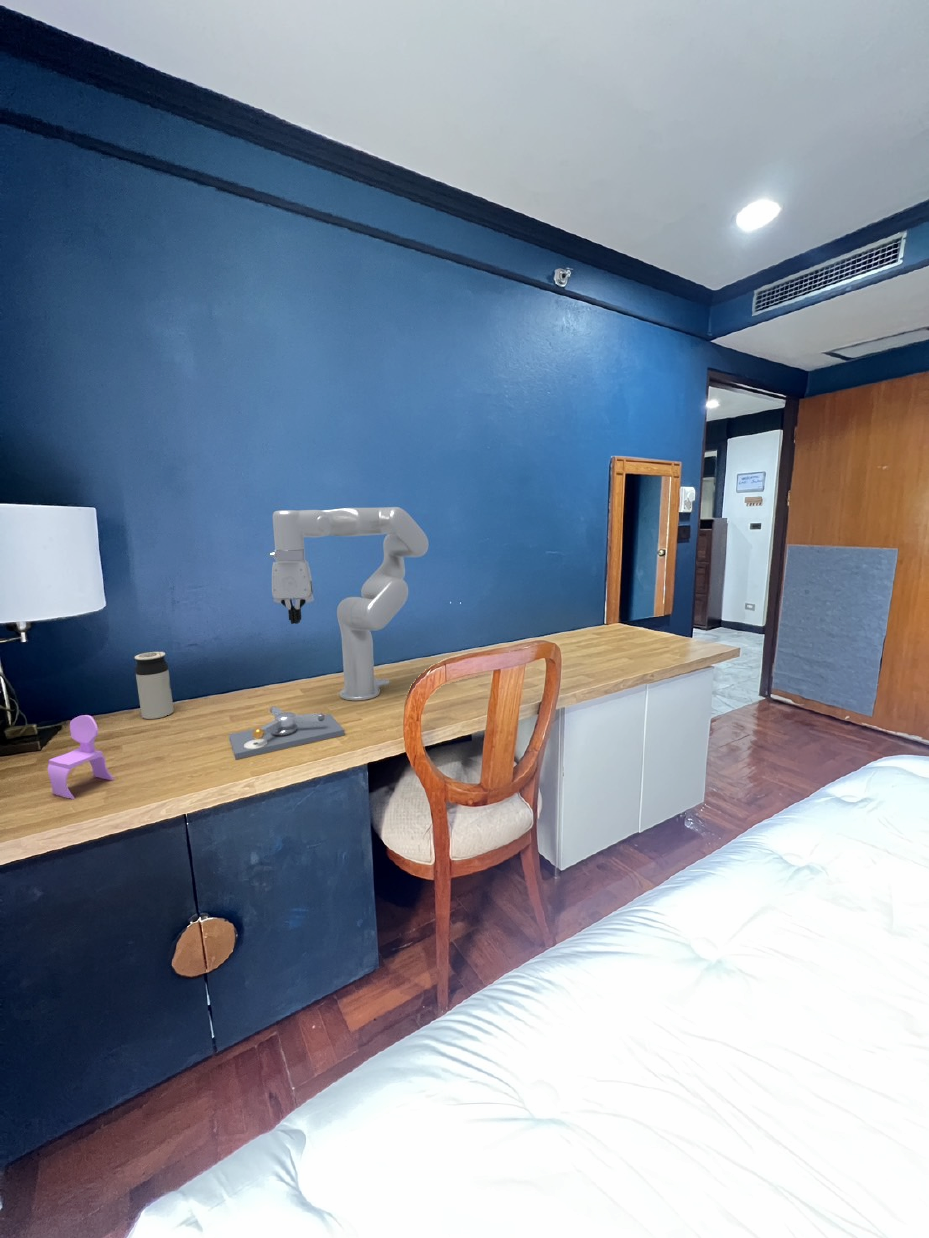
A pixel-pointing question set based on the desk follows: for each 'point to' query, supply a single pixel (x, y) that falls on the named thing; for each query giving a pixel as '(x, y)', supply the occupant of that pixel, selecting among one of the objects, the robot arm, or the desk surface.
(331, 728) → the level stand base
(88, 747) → the toy chair
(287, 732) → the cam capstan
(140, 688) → the travel mug
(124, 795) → the desk surface
